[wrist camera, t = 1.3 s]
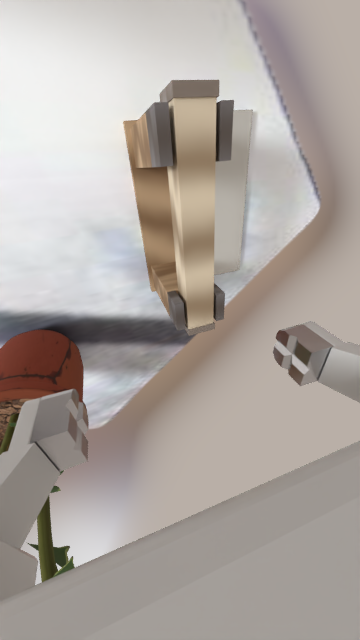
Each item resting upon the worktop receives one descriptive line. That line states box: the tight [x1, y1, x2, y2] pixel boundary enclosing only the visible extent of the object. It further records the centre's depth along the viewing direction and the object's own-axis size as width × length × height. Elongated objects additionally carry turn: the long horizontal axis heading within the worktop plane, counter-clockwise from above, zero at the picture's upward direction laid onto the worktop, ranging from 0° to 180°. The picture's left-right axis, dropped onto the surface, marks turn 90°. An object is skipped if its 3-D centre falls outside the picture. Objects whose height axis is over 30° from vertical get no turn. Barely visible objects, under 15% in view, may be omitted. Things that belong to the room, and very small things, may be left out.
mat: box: [214, 110, 253, 275], centre depth 33 cm, size 21×8×1 cm, turn 4°
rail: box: [160, 80, 219, 336], centre depth 23 cm, size 22×3×3 cm, turn 4°
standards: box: [123, 100, 234, 331], centre depth 27 cm, size 21×7×13 cm, turn 4°
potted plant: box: [0, 330, 87, 582], centre depth 24 cm, size 17×16×35 cm
